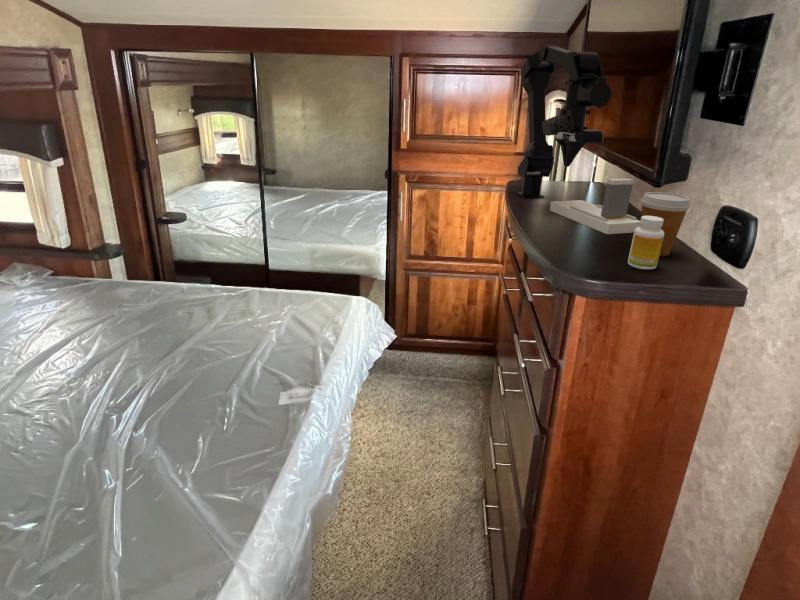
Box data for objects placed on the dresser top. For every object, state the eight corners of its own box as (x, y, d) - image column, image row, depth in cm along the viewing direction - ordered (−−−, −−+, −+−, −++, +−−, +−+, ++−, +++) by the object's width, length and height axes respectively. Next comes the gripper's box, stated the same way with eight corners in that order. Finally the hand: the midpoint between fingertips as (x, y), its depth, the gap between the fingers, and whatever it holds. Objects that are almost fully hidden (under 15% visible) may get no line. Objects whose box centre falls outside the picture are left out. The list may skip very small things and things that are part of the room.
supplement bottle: (659, 271, 101) (671, 222, 97) (630, 268, 102) (640, 220, 98) (652, 262, 106) (664, 215, 102) (624, 260, 107) (635, 213, 103)
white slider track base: (549, 210, 145) (551, 199, 144) (579, 208, 148) (581, 198, 147) (607, 234, 124) (609, 221, 123) (640, 231, 127) (643, 219, 126)
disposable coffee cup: (621, 248, 114) (633, 194, 109) (645, 242, 119) (657, 190, 114) (663, 261, 107) (677, 203, 102) (686, 253, 112) (701, 198, 107)
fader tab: (600, 215, 128) (607, 179, 125) (620, 214, 130) (627, 178, 127) (606, 217, 127) (613, 180, 123) (625, 216, 129) (633, 179, 125)
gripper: (530, 102, 140) (522, 161, 147) (572, 107, 124) (561, 173, 130) (564, 103, 144) (556, 160, 150) (610, 107, 128) (598, 172, 134)
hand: (566, 166), depth 141 cm, fingers closed
